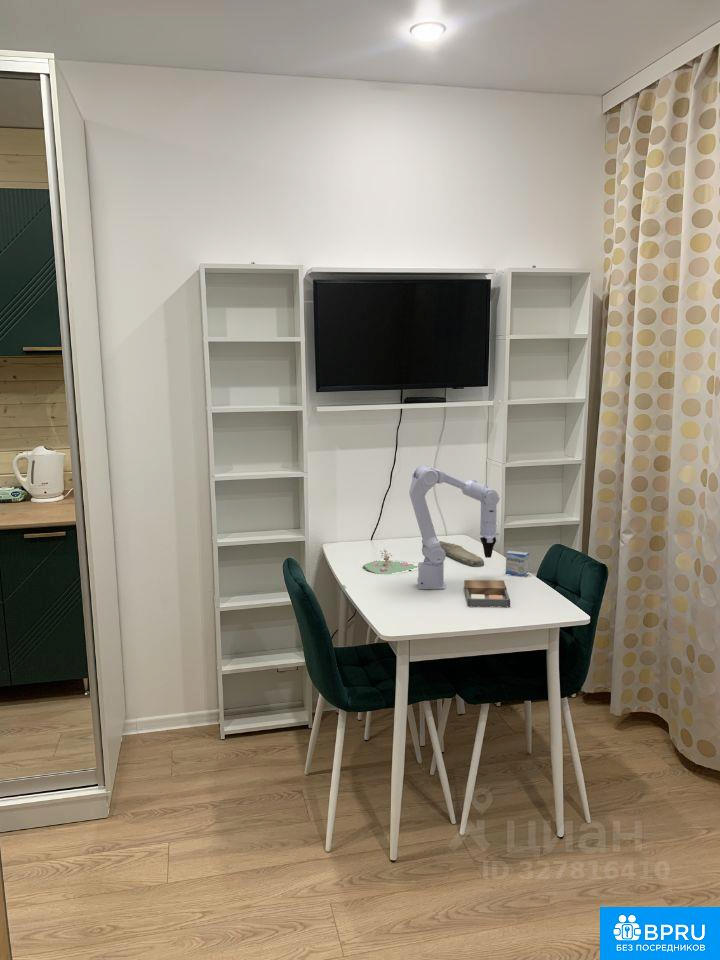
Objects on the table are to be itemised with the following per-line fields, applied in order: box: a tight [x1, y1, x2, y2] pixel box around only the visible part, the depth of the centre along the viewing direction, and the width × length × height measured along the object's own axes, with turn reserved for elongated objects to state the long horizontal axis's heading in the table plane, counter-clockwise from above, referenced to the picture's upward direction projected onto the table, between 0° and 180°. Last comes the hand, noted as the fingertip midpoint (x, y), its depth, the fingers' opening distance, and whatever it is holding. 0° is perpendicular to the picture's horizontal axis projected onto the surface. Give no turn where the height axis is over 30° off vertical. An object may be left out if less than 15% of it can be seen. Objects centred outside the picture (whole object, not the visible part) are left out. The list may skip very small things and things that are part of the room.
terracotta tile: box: [489, 595, 503, 599], centre depth 251 cm, size 4×4×2 cm
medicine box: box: [505, 550, 530, 577], centre depth 284 cm, size 8×4×9 cm, turn 62°
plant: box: [362, 549, 418, 575], centre depth 297 cm, size 25×21×9 cm
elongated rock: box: [438, 540, 485, 568], centre depth 311 cm, size 35×5×10 cm
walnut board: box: [463, 579, 508, 596], centre depth 264 cm, size 14×9×3 cm, turn 85°
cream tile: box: [471, 594, 485, 599], centre depth 252 cm, size 4×4×2 cm
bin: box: [465, 589, 511, 608], centre depth 254 cm, size 14×11×2 cm
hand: (487, 557), depth 275 cm, fingers closed
